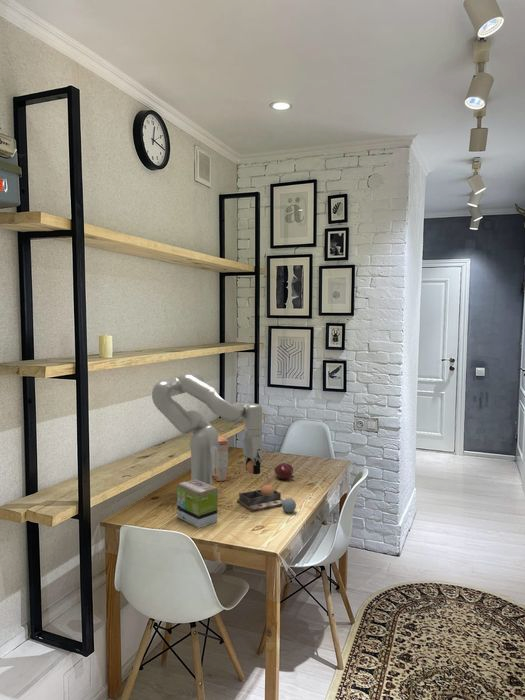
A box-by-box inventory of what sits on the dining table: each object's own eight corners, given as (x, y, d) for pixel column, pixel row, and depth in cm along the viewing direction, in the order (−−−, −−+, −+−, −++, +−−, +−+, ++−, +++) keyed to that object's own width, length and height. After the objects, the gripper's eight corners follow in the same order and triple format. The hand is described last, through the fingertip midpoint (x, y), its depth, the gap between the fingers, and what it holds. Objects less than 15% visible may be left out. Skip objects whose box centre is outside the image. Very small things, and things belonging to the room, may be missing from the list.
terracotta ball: (250, 476, 231) (250, 462, 231) (243, 472, 237) (243, 459, 236) (262, 474, 234) (262, 460, 234) (255, 470, 240) (255, 457, 239)
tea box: (176, 517, 219) (176, 482, 218) (195, 511, 226) (195, 477, 225) (198, 528, 208) (198, 492, 207) (218, 522, 215) (218, 486, 214)
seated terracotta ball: (265, 501, 236) (265, 488, 236) (258, 497, 241) (258, 484, 241) (276, 499, 239) (276, 486, 239) (269, 495, 245) (269, 482, 244)
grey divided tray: (252, 512, 226) (252, 502, 226) (237, 502, 238) (237, 493, 238) (287, 505, 235) (287, 496, 235) (270, 495, 247) (271, 487, 247)
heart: (271, 479, 269) (290, 483, 268) (273, 464, 269) (293, 468, 268) (274, 473, 281) (292, 476, 280) (276, 459, 281) (294, 462, 280)
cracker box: (228, 480, 269) (228, 440, 268) (216, 482, 267) (217, 441, 265) (220, 473, 282) (220, 434, 281) (209, 474, 280) (209, 435, 278)
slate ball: (286, 515, 223) (287, 501, 223) (279, 511, 228) (279, 497, 228) (298, 513, 226) (298, 499, 226) (290, 508, 231) (290, 495, 231)
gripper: (236, 429, 240) (236, 468, 241) (255, 436, 225) (255, 478, 226) (251, 427, 244) (250, 466, 245) (270, 434, 229) (270, 475, 230)
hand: (252, 471), depth 235 cm, fingers closed on terracotta ball, 5 cm apart
